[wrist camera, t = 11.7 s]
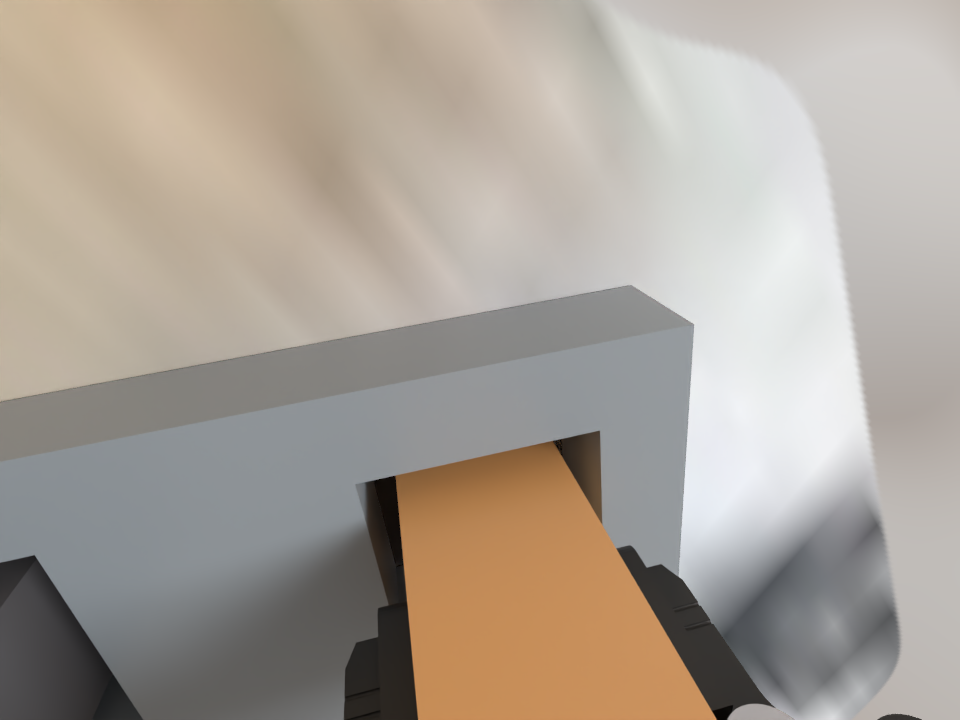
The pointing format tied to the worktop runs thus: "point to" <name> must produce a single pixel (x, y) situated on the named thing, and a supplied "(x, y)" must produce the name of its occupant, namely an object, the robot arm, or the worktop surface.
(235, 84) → the worktop surface
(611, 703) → the orange plug
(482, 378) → the slate power strip
